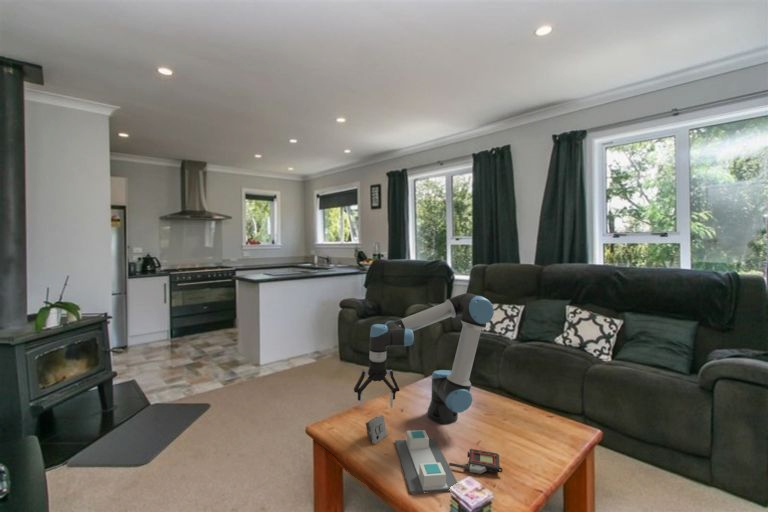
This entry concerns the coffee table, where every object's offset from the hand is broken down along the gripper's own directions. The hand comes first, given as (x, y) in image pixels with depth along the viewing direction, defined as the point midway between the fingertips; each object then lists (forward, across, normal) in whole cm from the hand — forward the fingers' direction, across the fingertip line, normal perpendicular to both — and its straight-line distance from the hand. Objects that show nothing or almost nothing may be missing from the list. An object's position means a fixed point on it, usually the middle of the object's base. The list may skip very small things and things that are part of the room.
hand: (376, 406), depth 157 cm
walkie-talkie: (+10, +37, -25) cm, 45 cm away
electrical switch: (+15, 0, 0) cm, 15 cm away
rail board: (+14, +17, -20) cm, 30 cm away
